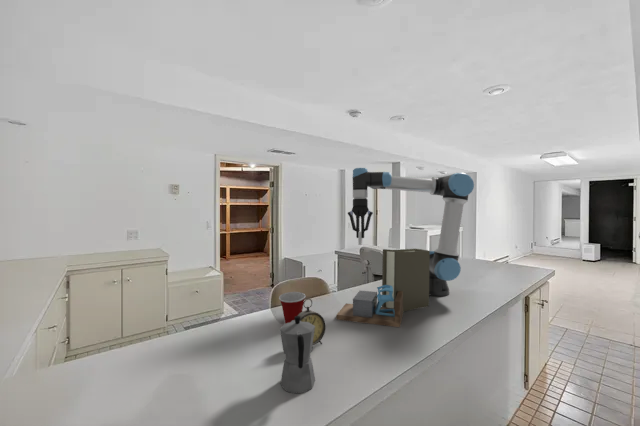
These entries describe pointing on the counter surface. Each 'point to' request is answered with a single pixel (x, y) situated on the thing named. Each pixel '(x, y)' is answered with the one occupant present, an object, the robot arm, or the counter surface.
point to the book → (407, 277)
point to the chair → (384, 300)
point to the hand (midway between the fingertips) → (360, 244)
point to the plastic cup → (292, 304)
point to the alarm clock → (314, 323)
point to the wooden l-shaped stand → (347, 314)
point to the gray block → (365, 304)
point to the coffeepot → (297, 356)
